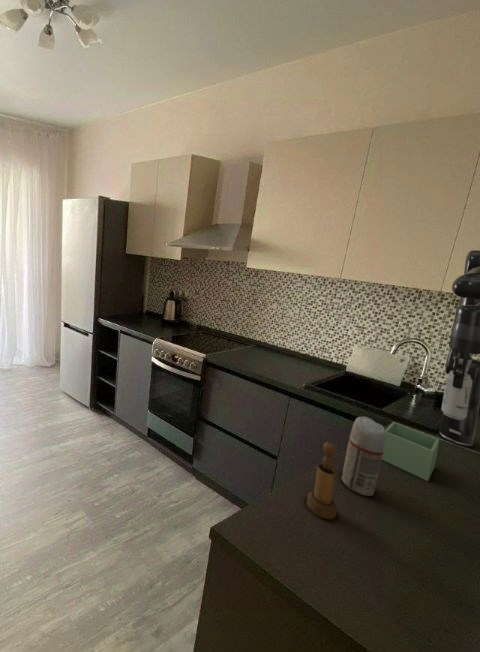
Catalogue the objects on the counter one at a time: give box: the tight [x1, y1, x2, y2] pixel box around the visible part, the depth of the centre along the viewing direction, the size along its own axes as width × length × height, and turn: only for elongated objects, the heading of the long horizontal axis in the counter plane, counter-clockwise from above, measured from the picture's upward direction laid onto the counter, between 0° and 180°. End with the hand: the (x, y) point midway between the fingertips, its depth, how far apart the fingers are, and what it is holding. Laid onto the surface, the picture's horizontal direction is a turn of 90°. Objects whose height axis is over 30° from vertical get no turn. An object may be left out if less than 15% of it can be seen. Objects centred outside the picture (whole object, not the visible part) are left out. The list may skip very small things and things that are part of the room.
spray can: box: [340, 416, 386, 497], centre depth 96 cm, size 8×8×20 cm
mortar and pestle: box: [306, 441, 338, 520], centre depth 86 cm, size 7×6×18 cm
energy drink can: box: [440, 370, 473, 420], centre depth 111 cm, size 6×6×15 cm
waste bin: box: [381, 421, 440, 482], centre depth 111 cm, size 12×12×10 cm
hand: (458, 385), depth 111 cm, fingers closed on energy drink can, 6 cm apart
